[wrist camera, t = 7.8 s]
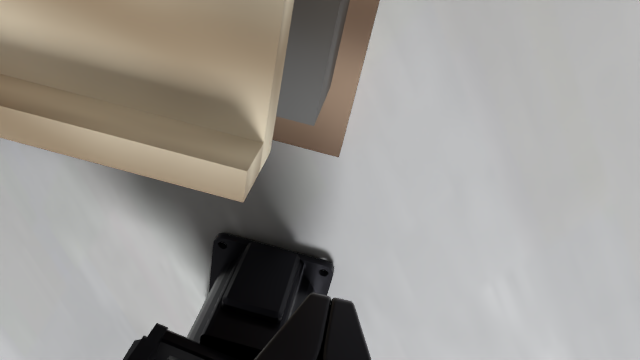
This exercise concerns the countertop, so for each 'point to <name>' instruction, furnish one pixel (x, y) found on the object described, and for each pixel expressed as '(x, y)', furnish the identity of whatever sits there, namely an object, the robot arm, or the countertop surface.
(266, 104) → the beam
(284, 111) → the stand
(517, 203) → the countertop surface
